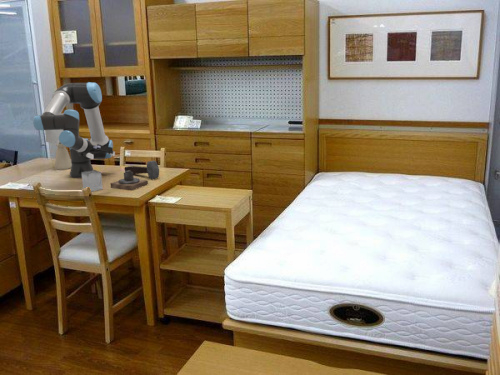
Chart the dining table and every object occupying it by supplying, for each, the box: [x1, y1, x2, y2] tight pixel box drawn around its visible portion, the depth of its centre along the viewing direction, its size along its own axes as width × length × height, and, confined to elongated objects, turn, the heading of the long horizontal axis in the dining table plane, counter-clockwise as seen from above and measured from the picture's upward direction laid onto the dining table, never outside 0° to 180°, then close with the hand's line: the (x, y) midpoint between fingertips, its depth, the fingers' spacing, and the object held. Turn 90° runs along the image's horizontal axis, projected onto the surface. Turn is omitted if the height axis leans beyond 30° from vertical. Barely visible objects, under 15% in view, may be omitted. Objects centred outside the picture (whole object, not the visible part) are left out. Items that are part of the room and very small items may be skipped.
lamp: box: [44, 112, 72, 171], centre depth 339 cm, size 19×19×37 cm
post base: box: [110, 170, 149, 191], centre depth 288 cm, size 14×16×9 cm
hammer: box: [124, 160, 160, 180], centre depth 313 cm, size 5×11×30 cm
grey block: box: [81, 169, 104, 192], centre depth 283 cm, size 8×8×10 cm
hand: (103, 155), depth 282 cm, fingers open, 13 cm apart
